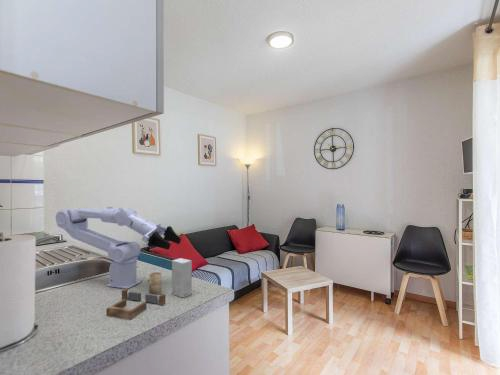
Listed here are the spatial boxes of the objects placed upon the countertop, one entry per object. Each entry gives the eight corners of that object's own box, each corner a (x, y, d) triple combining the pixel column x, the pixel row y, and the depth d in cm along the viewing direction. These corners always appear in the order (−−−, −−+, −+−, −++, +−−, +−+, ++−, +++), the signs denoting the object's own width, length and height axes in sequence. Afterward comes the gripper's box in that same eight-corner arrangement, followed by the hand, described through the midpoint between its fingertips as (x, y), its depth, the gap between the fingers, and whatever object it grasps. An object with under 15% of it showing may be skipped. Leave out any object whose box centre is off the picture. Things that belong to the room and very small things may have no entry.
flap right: (160, 303, 86) (160, 294, 86) (158, 304, 85) (158, 295, 85) (147, 301, 87) (147, 293, 87) (145, 302, 86) (145, 294, 86)
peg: (146, 295, 92) (146, 275, 92) (153, 291, 96) (153, 271, 96) (156, 296, 91) (156, 276, 91) (163, 292, 95) (163, 272, 94)
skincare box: (192, 294, 93) (192, 260, 93) (182, 298, 90) (183, 263, 90) (180, 290, 97) (180, 257, 97) (171, 294, 93) (171, 260, 93)
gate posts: (121, 299, 88) (121, 290, 88) (124, 297, 90) (124, 289, 90) (162, 305, 84) (162, 296, 84) (165, 303, 85) (165, 294, 85)
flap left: (126, 299, 88) (126, 291, 88) (128, 298, 89) (128, 290, 89) (139, 301, 87) (139, 293, 87) (141, 300, 88) (141, 292, 88)
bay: (106, 315, 77) (106, 307, 77) (123, 305, 84) (123, 297, 84) (130, 319, 75) (130, 311, 75) (146, 308, 82) (146, 301, 82)
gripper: (136, 221, 92) (168, 239, 90) (159, 215, 106) (188, 230, 104) (129, 239, 93) (161, 257, 91) (153, 230, 107) (181, 245, 105)
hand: (175, 244), depth 97 cm, fingers open, 7 cm apart
